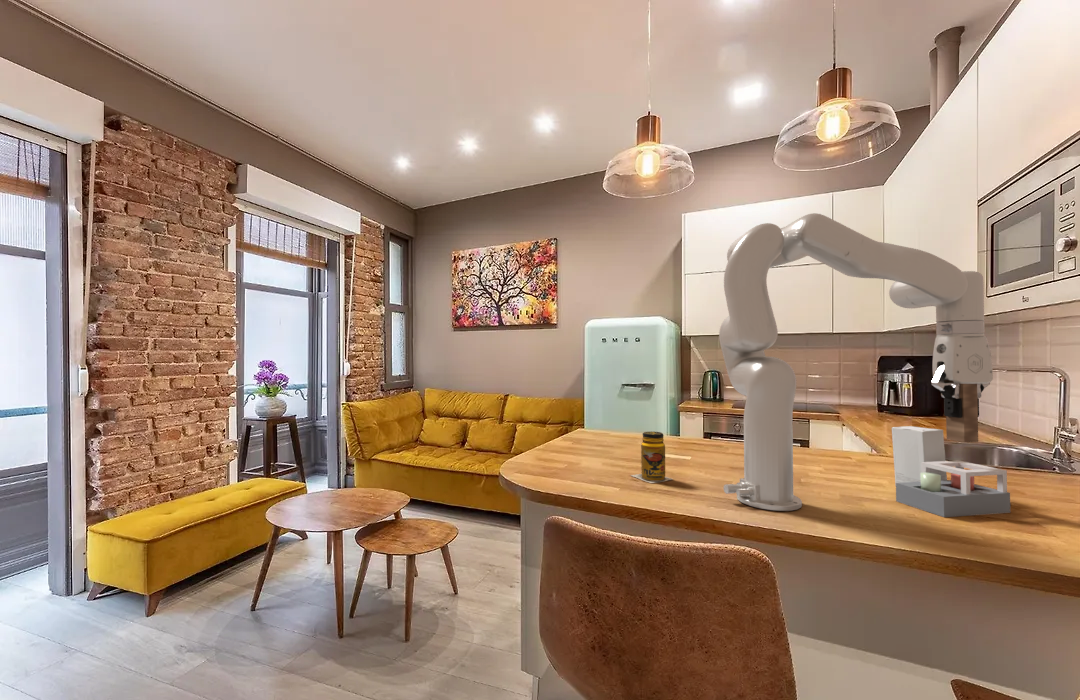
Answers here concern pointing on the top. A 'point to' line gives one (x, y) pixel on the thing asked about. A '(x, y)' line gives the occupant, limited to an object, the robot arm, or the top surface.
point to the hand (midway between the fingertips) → (961, 415)
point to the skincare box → (916, 452)
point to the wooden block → (965, 416)
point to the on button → (931, 482)
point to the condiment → (652, 458)
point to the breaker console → (957, 492)
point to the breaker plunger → (957, 481)
